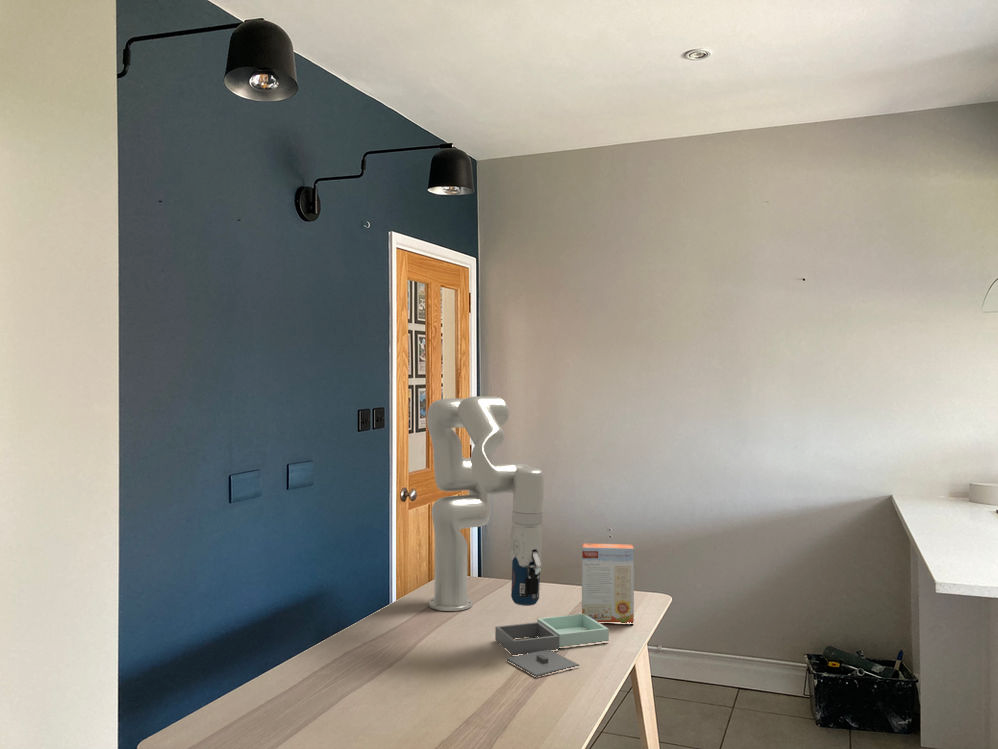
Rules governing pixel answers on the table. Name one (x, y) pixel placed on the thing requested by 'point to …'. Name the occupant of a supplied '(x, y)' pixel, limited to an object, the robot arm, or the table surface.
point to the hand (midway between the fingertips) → (525, 589)
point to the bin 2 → (576, 629)
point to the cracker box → (608, 582)
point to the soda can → (522, 585)
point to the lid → (542, 662)
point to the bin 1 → (524, 646)
